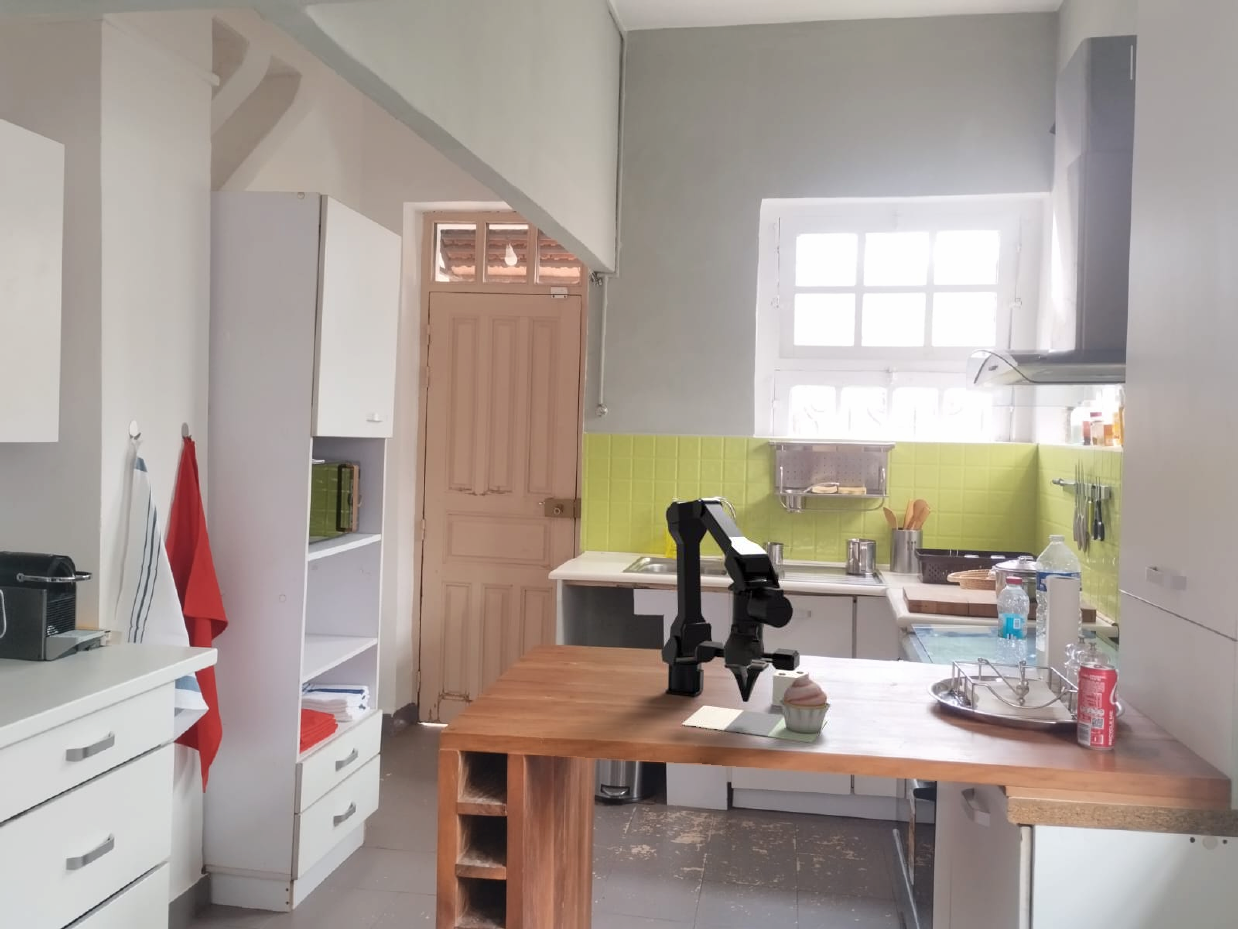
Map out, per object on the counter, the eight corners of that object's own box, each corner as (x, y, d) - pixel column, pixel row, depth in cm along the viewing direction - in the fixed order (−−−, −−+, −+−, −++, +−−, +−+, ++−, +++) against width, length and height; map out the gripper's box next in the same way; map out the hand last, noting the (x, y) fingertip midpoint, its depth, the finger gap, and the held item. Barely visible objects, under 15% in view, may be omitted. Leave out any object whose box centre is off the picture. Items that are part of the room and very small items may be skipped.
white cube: (772, 705, 194) (773, 674, 194) (778, 698, 200) (779, 668, 199) (802, 709, 192) (803, 678, 192) (808, 701, 197) (809, 671, 197)
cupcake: (831, 738, 172) (832, 682, 172) (777, 734, 174) (779, 678, 174) (829, 723, 181) (830, 670, 181) (778, 719, 183) (779, 667, 183)
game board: (681, 725, 179) (681, 724, 179) (704, 706, 192) (704, 705, 192) (812, 743, 170) (812, 741, 170) (826, 722, 183) (826, 721, 183)
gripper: (686, 620, 177) (684, 706, 177) (788, 630, 170) (786, 719, 171) (704, 611, 187) (702, 691, 188) (801, 620, 180) (799, 703, 181)
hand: (745, 701), depth 181 cm, fingers closed
